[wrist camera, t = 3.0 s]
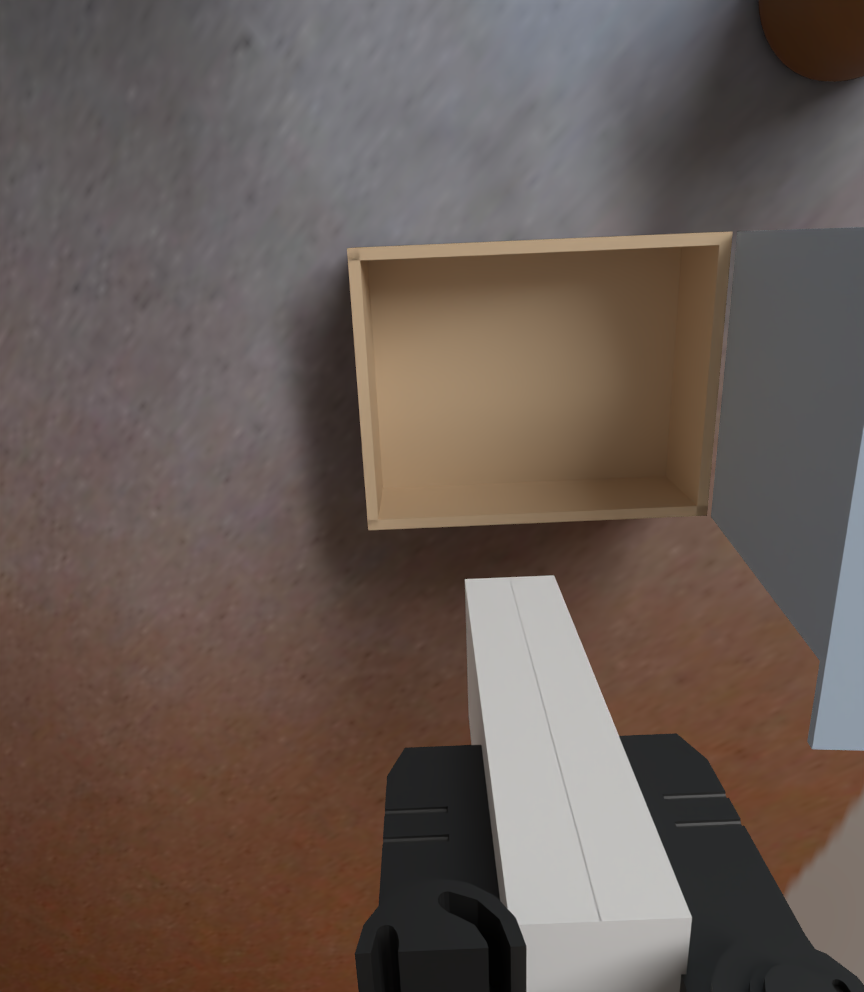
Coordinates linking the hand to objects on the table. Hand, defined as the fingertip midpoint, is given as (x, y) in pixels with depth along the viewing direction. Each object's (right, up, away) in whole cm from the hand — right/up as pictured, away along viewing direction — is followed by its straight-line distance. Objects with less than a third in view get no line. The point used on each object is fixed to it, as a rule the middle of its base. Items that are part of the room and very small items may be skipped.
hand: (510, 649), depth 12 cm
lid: (+9, +5, +12) cm, 16 cm away
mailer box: (+3, +9, +24) cm, 26 cm away
